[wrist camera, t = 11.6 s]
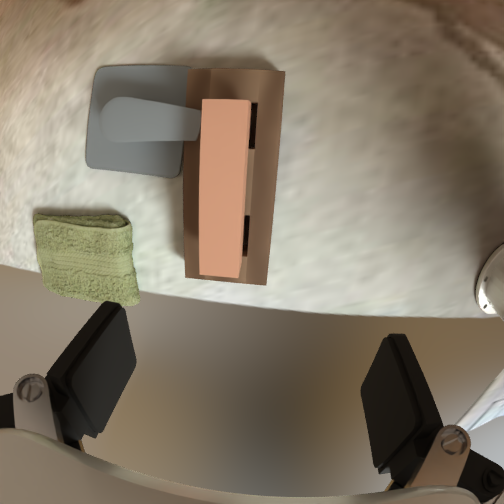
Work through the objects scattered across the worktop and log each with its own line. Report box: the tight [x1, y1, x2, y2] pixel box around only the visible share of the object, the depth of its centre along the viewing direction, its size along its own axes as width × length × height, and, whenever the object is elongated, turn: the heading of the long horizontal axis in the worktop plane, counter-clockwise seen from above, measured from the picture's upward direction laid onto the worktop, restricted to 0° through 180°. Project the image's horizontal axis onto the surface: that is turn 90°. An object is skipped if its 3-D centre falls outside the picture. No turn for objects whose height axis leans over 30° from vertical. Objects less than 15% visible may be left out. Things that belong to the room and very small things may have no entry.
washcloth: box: [33, 213, 140, 306], centre depth 35 cm, size 13×18×3 cm
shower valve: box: [86, 65, 202, 178], centre depth 26 cm, size 12×6×15 cm
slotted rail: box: [183, 68, 285, 285], centre depth 29 cm, size 9×22×3 cm, turn 176°
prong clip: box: [199, 99, 252, 278], centre depth 26 cm, size 4×15×8 cm, turn 177°
